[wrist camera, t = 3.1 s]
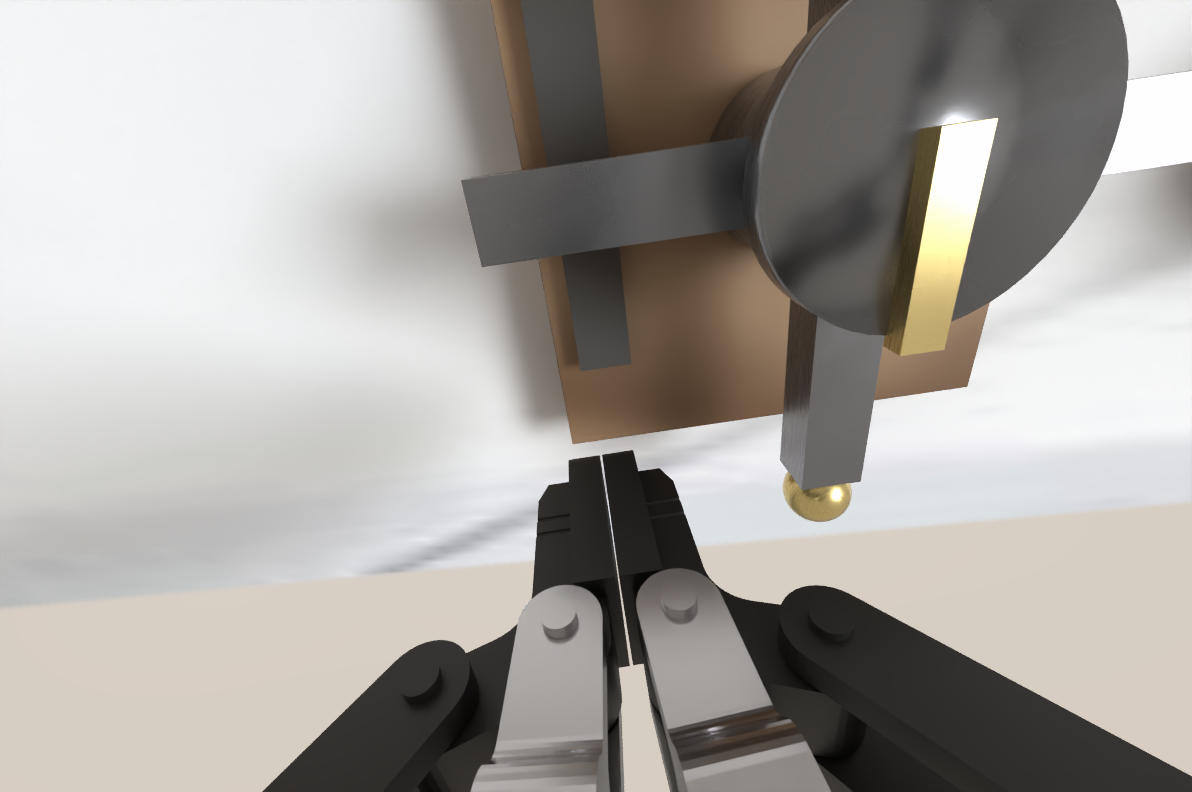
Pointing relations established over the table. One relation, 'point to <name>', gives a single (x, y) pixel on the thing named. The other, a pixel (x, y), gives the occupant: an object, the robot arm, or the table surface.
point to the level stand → (675, 266)
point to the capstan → (874, 187)
